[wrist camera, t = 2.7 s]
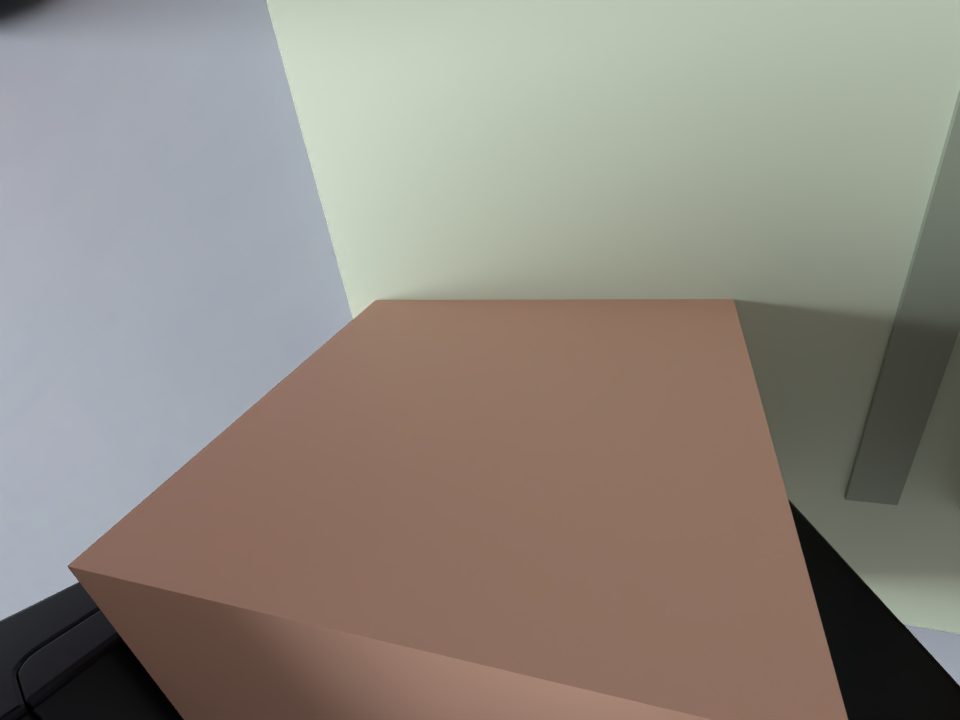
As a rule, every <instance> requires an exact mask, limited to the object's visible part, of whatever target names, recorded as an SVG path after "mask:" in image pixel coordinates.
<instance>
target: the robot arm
mask: <svg viewBox="0 0 960 720" xmlns="http://www.w3.org/2000/svg"><path fill="white" fill-rule="evenodd" d="M788 501H789V505H790V508H791V512H792V516H793V519H794V523H795V527H796V530H797V534H798V538H799V541H800V545H801V549H802V552H803V556H804V560H805V563H806V567H807V571H808V574H809V578H810V582H811V585H812V589H813V593H814V596H815V600H816V604H817V607H818V611H819V615H820V618H821V622H822V626H823V629H824V633H825V637H826V640H827V644H828V648H829V651H830V655H831V659H832V662H833V666H834V670H835V673H836V677H837V681H838V684H839V688H840V692H841V695H842V699H843V703H844V706H845V710H846V714H847V717H848V720H960V686H959V685H958V684H957V683H956V681H955V680H954V679H953V678H952V677H951V676H950V675H949V674H948V673H947V672H946V671H945V669H944V668H943V667H942V666H941V665H940V664H939V663H938V662H937V661H936V660H935V659H934V657H933V656H932V655H931V654H930V653H929V652H928V651H927V650H926V649H925V648H924V646H923V645H922V644H921V643H920V642H919V641H918V640H917V639H916V638H915V637H914V636H913V634H912V633H911V632H910V631H909V630H908V629H907V628H906V627H905V626H904V625H903V623H902V622H901V621H900V620H899V619H898V618H897V617H896V616H895V615H894V614H893V613H892V611H891V610H890V609H889V608H888V607H887V606H886V605H885V604H884V603H883V602H882V601H881V599H880V598H879V597H878V596H877V595H876V594H875V593H874V592H873V591H872V590H871V588H870V587H869V586H868V585H867V584H866V583H865V582H864V581H863V580H862V579H861V578H860V576H859V575H858V574H857V573H856V572H855V571H854V570H853V569H852V568H851V567H850V566H849V564H848V563H847V562H846V561H845V560H844V559H843V558H842V557H841V556H840V555H839V553H838V552H837V551H836V550H835V549H834V548H833V547H832V546H831V545H830V544H829V543H828V541H827V540H826V539H825V538H824V537H823V536H822V535H821V534H820V533H819V532H818V531H817V529H816V528H815V527H814V526H813V525H812V524H811V523H810V522H809V521H808V520H807V518H806V517H805V516H804V515H803V514H802V513H801V512H800V511H799V510H798V509H797V508H796V506H795V505H794V504H793V503H792V502H791V501H790V500H789V499H788ZM0 720H184V719H183V718H182V717H181V715H180V714H179V713H178V711H177V710H176V709H175V707H174V706H173V705H172V703H171V702H170V701H169V699H168V698H167V697H166V695H165V694H164V693H163V692H162V690H161V689H160V688H159V686H158V685H157V684H156V682H155V681H154V680H153V678H152V677H151V676H150V674H149V673H148V672H147V670H146V669H145V668H144V666H143V665H142V664H141V663H140V661H139V660H138V659H137V657H136V656H135V655H134V653H133V652H132V651H131V649H130V648H129V647H128V645H127V644H126V643H125V641H124V640H123V639H122V637H121V636H120V635H119V634H118V632H117V631H116V630H115V628H114V627H113V626H112V624H111V623H110V622H109V620H108V619H107V618H106V616H105V615H104V614H103V612H102V611H101V610H100V608H99V607H98V606H97V605H96V603H95V602H94V601H93V599H92V598H91V597H90V595H89V594H88V593H87V591H86V590H85V589H84V587H83V586H82V585H81V583H80V582H78V583H76V584H74V585H72V586H70V587H68V588H66V589H64V590H62V591H60V592H58V593H56V594H54V595H52V596H50V597H48V598H46V599H44V600H42V601H40V602H38V603H36V604H34V605H32V606H30V607H28V608H26V609H24V610H22V611H20V612H18V613H16V614H13V615H11V616H9V617H7V618H5V619H3V620H1V621H0Z"/></svg>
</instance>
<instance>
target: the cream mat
mask: <svg viewBox="0 0 960 720" xmlns="http://www.w3.org/2000/svg"><path fill="white" fill-rule="evenodd" d="M266 3H267V6H268V10H269V14H270V17H271V21H272V25H273V28H274V32H275V36H276V39H277V43H278V47H279V50H280V54H281V58H282V61H283V65H284V69H285V72H286V76H287V80H288V83H289V87H290V91H291V94H292V98H293V102H294V105H295V109H296V112H297V116H298V120H299V123H300V127H301V131H302V134H303V138H304V142H305V145H306V149H307V153H308V156H309V160H310V164H311V167H312V171H313V175H314V178H315V182H316V186H317V189H318V193H319V197H320V200H321V204H322V208H323V211H324V215H325V219H326V222H327V226H328V230H329V233H330V237H331V241H332V244H333V248H334V252H335V255H336V259H337V263H338V266H339V270H340V274H341V277H342V281H343V285H344V288H345V292H346V296H347V299H348V303H349V307H350V310H351V314H352V318H353V319H354V318H355V317H356V316H358V315H359V314H360V313H361V312H362V311H363V310H365V309H366V308H367V307H368V306H369V305H370V304H371V303H373V302H374V301H375V300H565V299H734V303H735V307H736V310H737V314H738V318H739V321H740V325H741V329H742V332H743V336H744V340H745V343H746V347H747V351H748V354H749V358H750V362H751V365H752V369H753V373H754V376H755V380H756V384H757V387H758V391H759V395H760V398H761V402H762V406H763V409H764V413H765V417H766V420H767V424H768V428H769V431H770V435H771V439H772V442H773V446H774V450H775V453H776V457H777V461H778V464H779V468H780V472H781V475H782V479H783V483H784V486H785V490H786V494H787V497H788V499H789V500H790V501H791V502H792V503H793V504H794V505H795V506H796V508H797V509H798V510H799V511H800V512H801V513H802V514H803V515H804V516H805V517H806V518H807V520H808V521H809V522H810V523H811V524H812V525H813V526H814V527H815V528H816V529H817V531H818V532H819V533H820V534H821V535H822V536H823V537H824V538H825V539H826V540H827V541H828V543H829V544H830V545H831V546H832V547H833V548H834V549H835V550H836V551H837V552H838V553H839V555H840V556H841V557H842V558H843V559H844V560H845V561H846V562H847V563H848V564H849V566H850V567H851V568H852V569H853V570H854V571H855V572H856V573H857V574H858V575H859V576H860V578H861V579H862V580H863V581H864V582H865V583H866V584H867V585H868V586H869V587H870V588H871V590H872V591H873V592H874V593H875V594H876V595H877V596H878V597H879V598H880V599H881V601H882V602H883V603H884V604H885V605H886V606H887V607H888V608H889V609H890V610H891V611H892V613H893V614H894V615H895V616H896V617H897V618H898V619H899V620H900V621H901V622H902V623H903V625H909V626H915V627H921V628H927V629H933V630H939V631H945V632H951V633H957V634H960V0H266Z"/></svg>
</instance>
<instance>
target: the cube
mask: <svg viewBox="0 0 960 720" xmlns="http://www.w3.org/2000/svg"><path fill="white" fill-rule="evenodd" d="M68 568H69V569H70V570H71V572H72V573H73V574H74V576H75V577H76V578H77V579H78V581H79V582H80V583H81V585H82V586H83V587H84V589H85V590H86V591H87V593H88V594H89V595H90V597H91V598H92V599H93V601H94V602H95V603H96V605H97V606H98V607H99V608H100V610H101V611H102V612H103V614H104V615H105V616H106V618H107V619H108V620H109V622H110V623H111V624H112V626H113V627H114V628H115V630H116V631H117V632H118V634H119V635H120V636H121V637H122V639H123V640H124V641H125V643H126V644H127V645H128V647H129V648H130V649H131V651H132V652H133V653H134V655H135V656H136V657H137V659H138V660H139V661H140V663H141V664H142V665H143V666H144V668H145V669H146V670H147V672H148V673H149V674H150V676H151V677H152V678H153V680H154V681H155V682H156V684H157V685H158V686H159V688H160V689H161V690H162V692H163V693H164V694H165V695H166V697H167V698H168V699H169V701H170V702H171V703H172V705H173V706H174V707H175V709H176V710H177V711H178V713H179V714H180V715H181V717H182V718H183V719H184V720H848V717H847V714H846V710H845V706H844V703H843V699H842V695H841V692H840V688H839V684H838V681H837V677H836V673H835V670H834V666H833V662H832V659H831V655H830V651H829V648H828V644H827V640H826V637H825V633H824V629H823V626H822V622H821V618H820V615H819V611H818V607H817V604H816V600H815V596H814V593H813V589H812V585H811V582H810V578H809V574H808V571H807V567H806V563H805V560H804V556H803V552H802V549H801V545H800V541H799V538H798V534H797V530H796V527H795V523H794V519H793V516H792V512H791V508H790V505H789V501H788V497H787V494H786V490H785V486H784V483H783V479H782V475H781V472H780V468H779V464H778V461H777V457H776V453H775V450H774V446H773V442H772V439H771V435H770V431H769V428H768V424H767V420H766V417H765V413H764V409H763V406H762V402H761V398H760V395H759V391H758V387H757V384H756V380H755V376H754V373H753V369H752V365H751V362H750V358H749V354H748V351H747V347H746V343H745V340H744V336H743V332H742V329H741V325H740V321H739V318H738V314H737V310H736V307H735V303H734V299H565V300H375V301H374V302H373V303H371V304H370V305H369V306H368V307H367V308H366V309H365V310H363V311H362V312H361V313H360V314H359V315H358V316H356V317H355V318H354V319H353V320H352V321H351V322H349V323H348V324H347V325H346V326H345V327H344V328H343V329H341V330H340V331H339V332H338V333H337V334H336V335H334V336H333V337H332V338H331V339H330V340H329V341H327V342H326V343H325V344H324V345H323V346H322V347H321V348H319V349H318V350H317V351H316V352H315V353H314V354H312V355H311V356H310V357H309V358H308V359H307V360H305V361H304V362H303V363H302V364H301V365H300V366H299V367H297V368H296V369H295V370H294V371H293V372H292V373H290V374H289V375H288V376H287V377H286V378H285V379H284V380H282V381H281V382H280V383H279V384H278V385H277V386H275V387H274V388H273V389H272V390H271V391H270V392H268V393H267V394H266V395H265V396H264V397H263V398H262V399H260V400H259V401H258V402H257V403H256V404H255V405H253V406H252V407H251V408H250V409H249V410H248V411H246V412H245V413H244V414H243V415H242V416H241V417H240V418H238V419H237V420H236V421H235V422H234V423H233V424H231V425H230V426H229V427H228V428H227V429H226V430H224V431H223V432H222V433H221V434H220V435H219V436H218V437H216V438H215V439H214V440H213V441H212V442H211V443H209V444H208V445H207V446H206V447H205V448H204V449H202V450H201V451H200V452H199V453H198V454H197V455H196V456H194V457H193V458H192V459H191V460H190V461H189V462H187V463H186V464H185V465H184V466H183V467H182V468H180V469H179V470H178V471H177V472H176V473H175V474H174V475H172V476H171V477H170V478H169V479H168V480H167V481H165V482H164V483H163V484H162V485H161V486H160V487H158V488H157V489H156V490H155V491H154V492H153V493H152V494H150V495H149V496H148V497H147V498H146V499H145V500H143V501H142V502H141V503H140V504H139V505H138V506H137V507H135V508H134V509H133V510H132V511H131V512H130V513H128V514H127V515H126V516H125V517H124V518H123V519H121V520H120V521H119V522H118V523H117V524H116V525H115V526H113V527H112V528H111V529H110V530H109V531H108V532H106V533H105V534H104V535H103V536H102V537H101V538H99V539H98V540H97V541H96V542H95V543H94V544H93V545H91V546H90V547H89V548H88V549H87V550H86V551H84V552H83V553H82V554H81V555H80V556H79V557H77V558H76V559H75V560H74V561H73V562H72V563H71V564H69V565H68Z"/></svg>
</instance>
